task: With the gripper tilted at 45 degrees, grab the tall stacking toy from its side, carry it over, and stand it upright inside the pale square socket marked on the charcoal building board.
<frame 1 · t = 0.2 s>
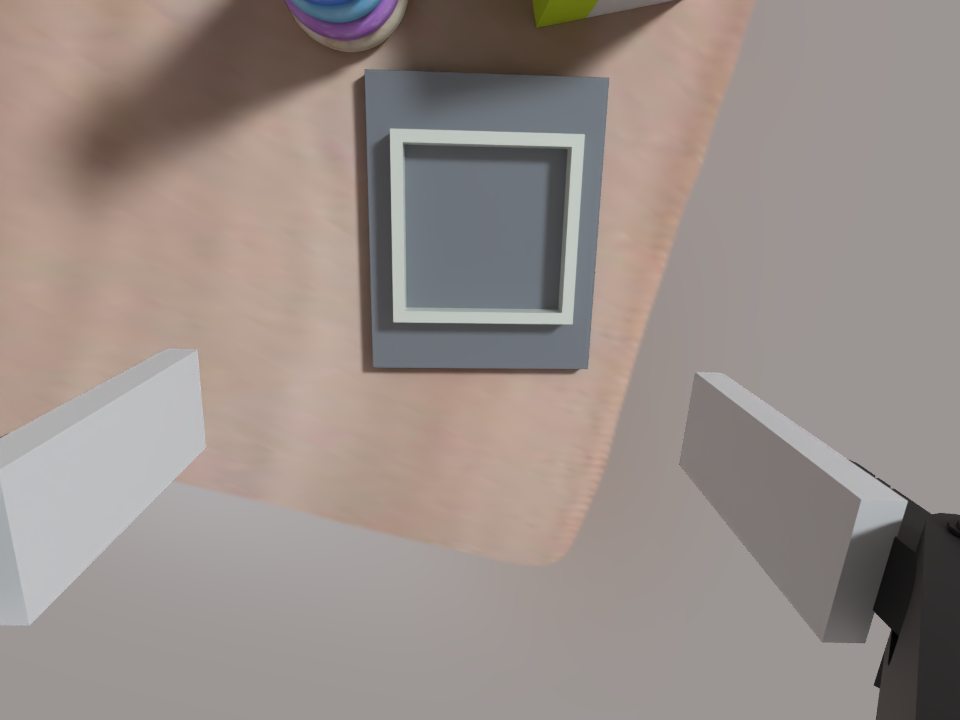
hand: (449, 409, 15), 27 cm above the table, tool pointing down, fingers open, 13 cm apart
building board: (483, 229, 41), on the table
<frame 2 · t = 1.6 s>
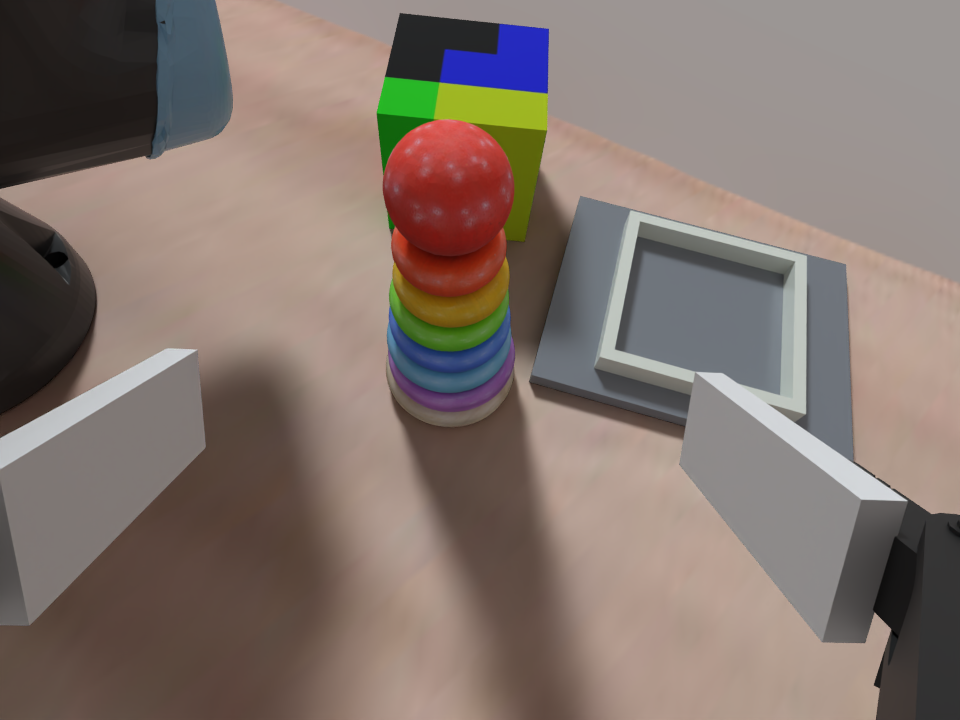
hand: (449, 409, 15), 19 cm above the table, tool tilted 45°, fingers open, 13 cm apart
stacking toy: (449, 375, 37), on the table
puzzle toy: (462, 188, 45), on the table
building board: (695, 323, 40), on the table
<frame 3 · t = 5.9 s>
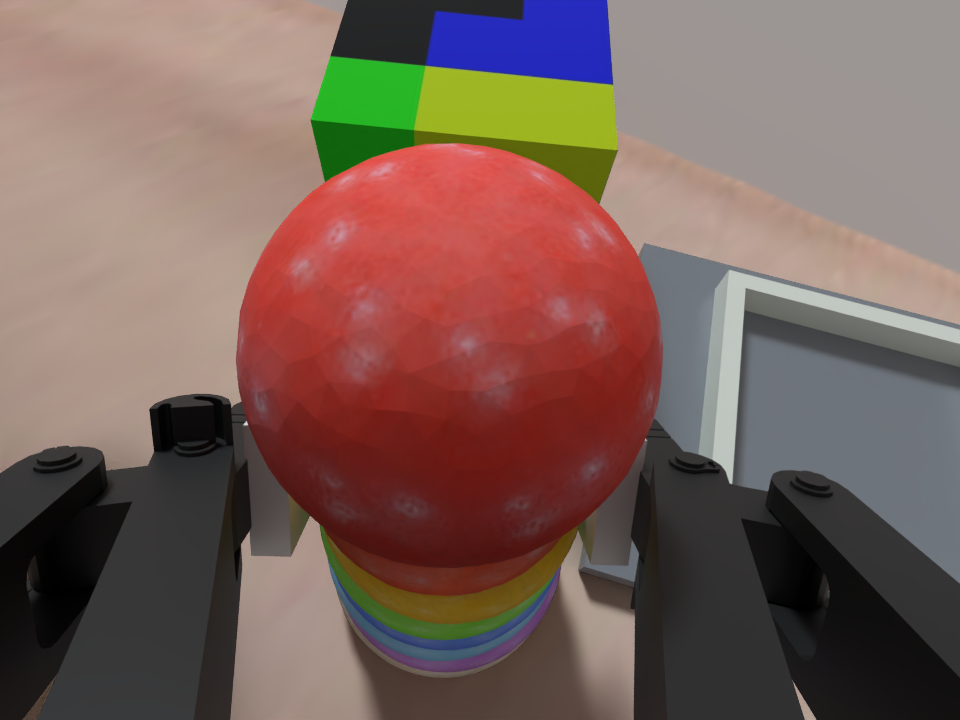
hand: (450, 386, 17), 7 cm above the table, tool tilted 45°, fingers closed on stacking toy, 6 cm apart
stacking toy: (445, 558, 22), on the table, touching gripper
puzzle toy: (464, 230, 30), on the table
building board: (837, 453, 25), on the table
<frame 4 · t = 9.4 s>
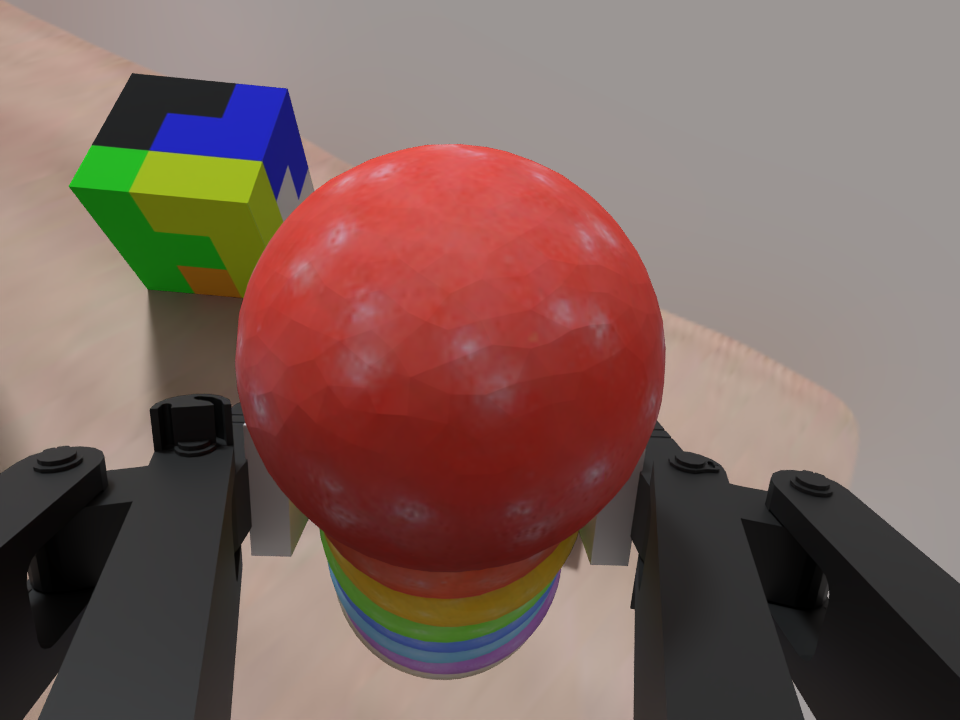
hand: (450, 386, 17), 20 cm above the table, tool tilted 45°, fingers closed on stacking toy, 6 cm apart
stacking toy: (444, 560, 22), point 12 cm above the table, touching gripper
puzzle toy: (238, 243, 44), on the table
when the fingers open (10 cm above the table, at t = 13.0 s): stacking toy drops 1 cm, resting on building board.
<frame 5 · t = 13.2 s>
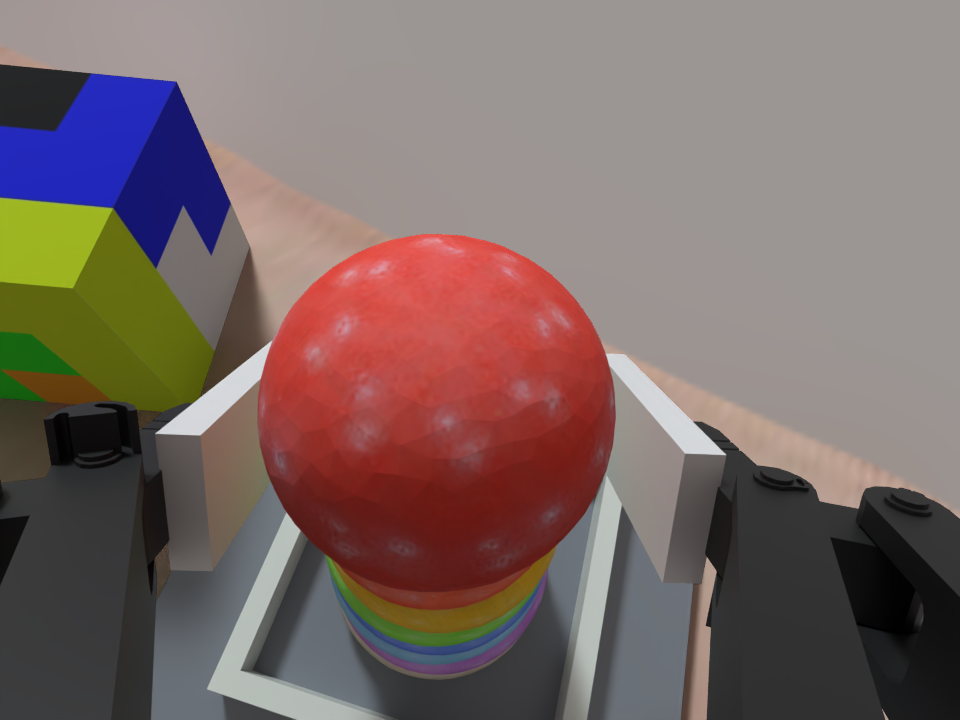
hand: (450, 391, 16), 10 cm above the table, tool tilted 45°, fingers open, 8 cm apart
stacking toy: (439, 566, 23), point 1 cm above the table, touching building board
puzzle toy: (126, 317, 29), on the table
building board: (442, 567, 24), on the table
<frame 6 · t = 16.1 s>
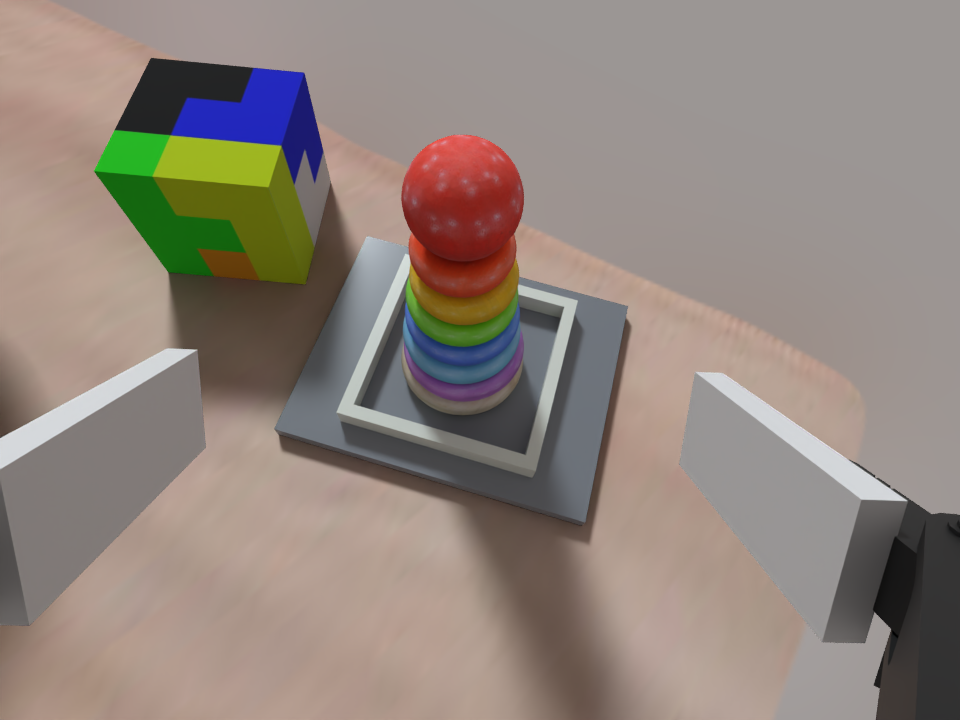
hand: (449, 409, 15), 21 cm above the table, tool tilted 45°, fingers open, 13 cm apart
stacking toy: (462, 365, 39), point 1 cm above the table, touching building board
puzzle toy: (255, 227, 44), on the table
building board: (463, 369, 39), on the table
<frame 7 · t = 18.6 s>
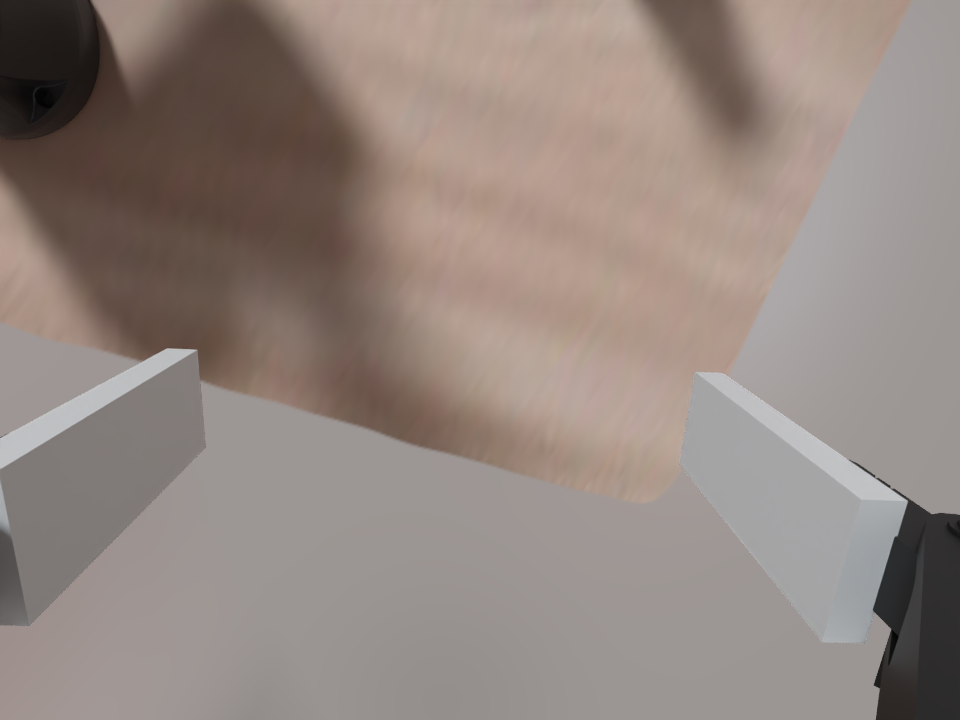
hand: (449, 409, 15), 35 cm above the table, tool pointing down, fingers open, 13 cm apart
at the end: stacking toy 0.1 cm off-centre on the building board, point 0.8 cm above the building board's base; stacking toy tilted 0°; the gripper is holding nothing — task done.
